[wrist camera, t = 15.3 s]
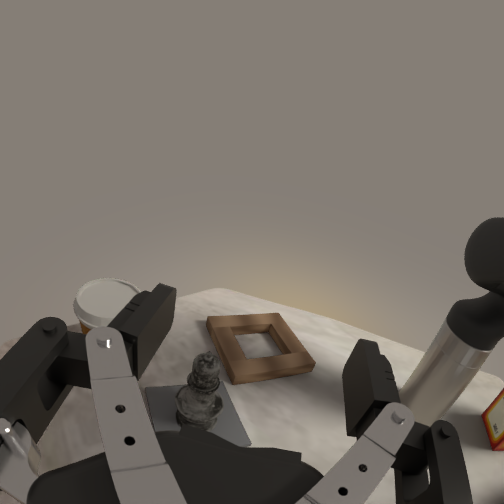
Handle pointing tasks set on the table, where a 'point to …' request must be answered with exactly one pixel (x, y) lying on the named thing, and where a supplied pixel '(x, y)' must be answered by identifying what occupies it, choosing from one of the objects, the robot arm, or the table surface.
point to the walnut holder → (258, 368)
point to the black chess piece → (200, 394)
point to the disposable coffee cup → (102, 301)
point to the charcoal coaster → (165, 419)
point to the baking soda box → (495, 422)
